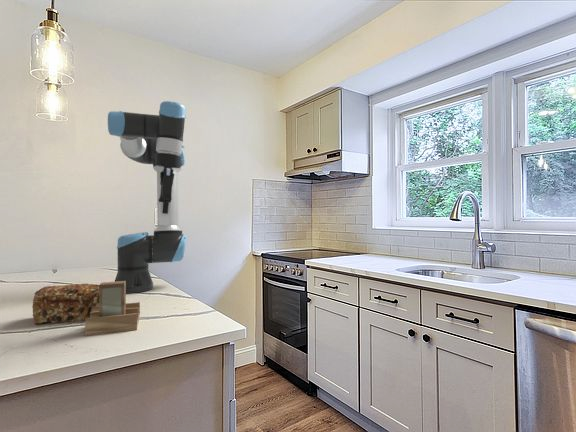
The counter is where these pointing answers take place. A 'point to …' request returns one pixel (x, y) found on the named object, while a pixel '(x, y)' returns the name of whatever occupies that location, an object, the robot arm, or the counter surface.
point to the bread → (65, 303)
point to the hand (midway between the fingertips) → (163, 223)
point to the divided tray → (113, 321)
